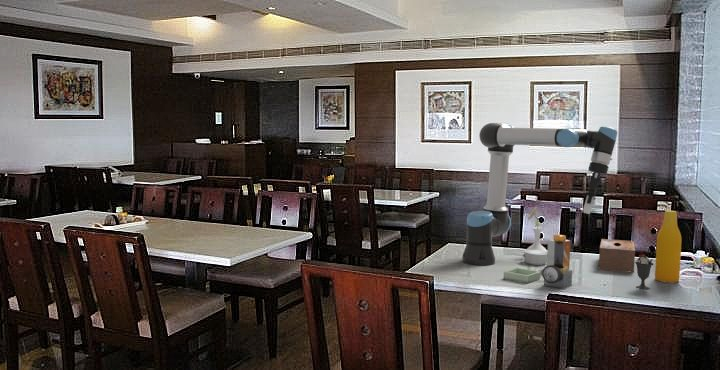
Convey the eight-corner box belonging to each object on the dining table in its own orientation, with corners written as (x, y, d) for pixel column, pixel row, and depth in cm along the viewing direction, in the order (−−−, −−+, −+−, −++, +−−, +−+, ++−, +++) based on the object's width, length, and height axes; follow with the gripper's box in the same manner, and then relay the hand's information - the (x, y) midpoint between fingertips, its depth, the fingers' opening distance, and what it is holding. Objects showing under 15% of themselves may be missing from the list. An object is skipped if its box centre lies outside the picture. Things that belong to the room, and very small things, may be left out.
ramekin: (544, 266, 283) (545, 255, 283) (520, 263, 289) (520, 252, 289) (551, 262, 293) (551, 251, 292) (527, 259, 299) (528, 248, 298)
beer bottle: (675, 278, 263) (679, 210, 260) (682, 283, 254) (686, 213, 251) (652, 277, 265) (655, 209, 262) (657, 282, 256) (661, 212, 253)
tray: (503, 278, 258) (503, 271, 258) (516, 274, 266) (516, 267, 266) (528, 283, 251) (528, 276, 251) (540, 278, 259) (540, 271, 259)
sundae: (630, 286, 249) (631, 248, 248) (646, 285, 249) (648, 248, 248) (638, 290, 242) (640, 252, 241) (655, 290, 243) (657, 252, 242)
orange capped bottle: (550, 270, 248) (551, 235, 246) (555, 268, 251) (556, 234, 250) (561, 272, 245) (562, 237, 243) (566, 270, 248) (567, 235, 247)
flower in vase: (529, 252, 315) (531, 203, 312) (551, 255, 308) (553, 205, 306) (519, 256, 304) (521, 206, 302) (542, 260, 297) (544, 208, 295)
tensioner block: (540, 286, 246) (540, 264, 245) (552, 281, 254) (553, 260, 253) (559, 290, 240) (560, 267, 240) (571, 285, 249) (572, 263, 248)
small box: (557, 271, 274) (559, 242, 273) (546, 268, 279) (547, 239, 278) (569, 269, 278) (571, 240, 277) (558, 266, 283) (559, 238, 282)
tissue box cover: (600, 259, 303) (601, 238, 302) (633, 262, 297) (634, 241, 296) (598, 269, 279) (599, 247, 278) (633, 273, 273) (635, 250, 272)
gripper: (609, 161, 249) (596, 213, 249) (608, 169, 272) (595, 216, 272) (590, 157, 252) (576, 208, 251) (590, 165, 275) (577, 211, 275)
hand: (586, 212), depth 262 cm, fingers open, 13 cm apart
